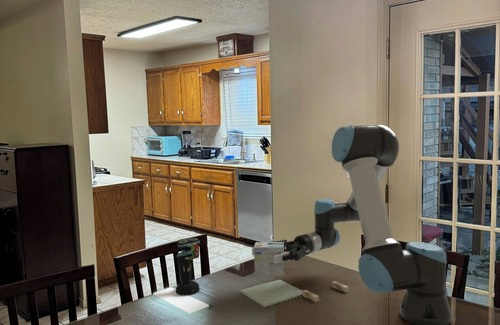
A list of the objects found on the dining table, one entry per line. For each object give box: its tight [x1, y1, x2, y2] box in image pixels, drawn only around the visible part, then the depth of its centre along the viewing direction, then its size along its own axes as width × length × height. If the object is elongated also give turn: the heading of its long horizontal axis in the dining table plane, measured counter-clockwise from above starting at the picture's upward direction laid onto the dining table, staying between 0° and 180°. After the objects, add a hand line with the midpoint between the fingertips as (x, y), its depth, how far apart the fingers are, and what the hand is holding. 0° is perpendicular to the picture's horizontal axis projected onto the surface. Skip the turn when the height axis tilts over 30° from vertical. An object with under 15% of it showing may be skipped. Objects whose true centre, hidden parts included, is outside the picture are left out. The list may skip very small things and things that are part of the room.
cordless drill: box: [175, 237, 201, 296], centre depth 167 cm, size 9×12×20 cm
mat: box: [239, 279, 304, 308], centre depth 163 cm, size 16×18×1 cm
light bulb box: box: [253, 241, 285, 277], centre depth 162 cm, size 11×7×11 cm, turn 84°
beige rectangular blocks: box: [302, 280, 350, 303], centre depth 161 cm, size 7×16×2 cm, turn 122°
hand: (263, 255), depth 160 cm, fingers closed on light bulb box, 12 cm apart
